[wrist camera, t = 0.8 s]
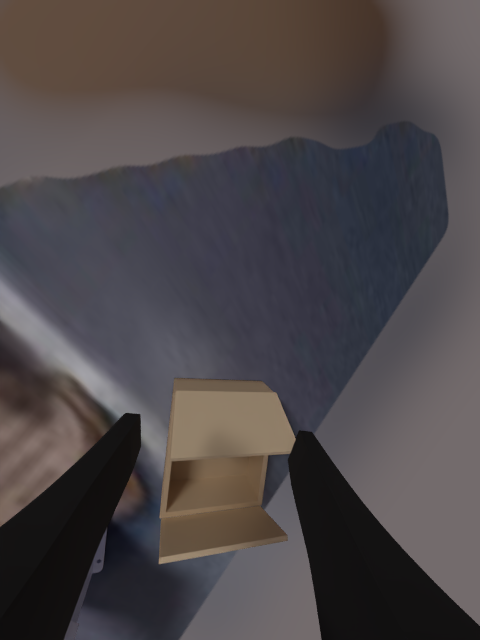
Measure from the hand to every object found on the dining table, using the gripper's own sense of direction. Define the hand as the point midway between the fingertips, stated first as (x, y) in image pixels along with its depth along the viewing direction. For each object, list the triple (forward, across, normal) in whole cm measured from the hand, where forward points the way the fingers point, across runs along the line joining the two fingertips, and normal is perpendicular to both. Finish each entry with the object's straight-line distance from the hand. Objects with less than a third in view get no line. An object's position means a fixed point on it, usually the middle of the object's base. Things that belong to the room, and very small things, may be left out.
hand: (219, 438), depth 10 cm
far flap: (+5, -2, +19) cm, 20 cm away
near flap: (+9, -2, +9) cm, 13 cm away
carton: (+15, -1, +17) cm, 23 cm away
